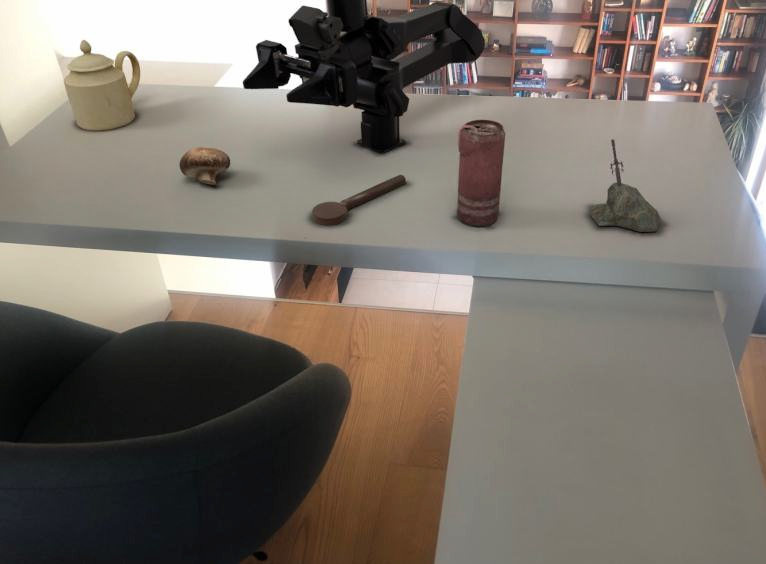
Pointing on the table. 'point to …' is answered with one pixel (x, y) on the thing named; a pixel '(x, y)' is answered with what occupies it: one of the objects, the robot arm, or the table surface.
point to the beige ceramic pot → (101, 89)
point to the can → (480, 172)
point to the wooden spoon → (352, 202)
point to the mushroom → (204, 164)
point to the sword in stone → (625, 206)
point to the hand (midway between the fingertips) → (265, 91)
